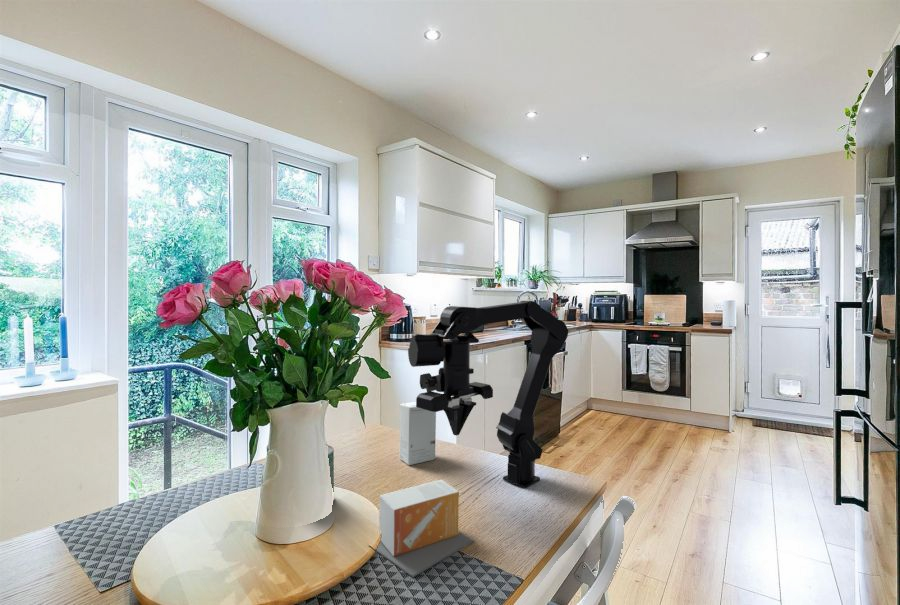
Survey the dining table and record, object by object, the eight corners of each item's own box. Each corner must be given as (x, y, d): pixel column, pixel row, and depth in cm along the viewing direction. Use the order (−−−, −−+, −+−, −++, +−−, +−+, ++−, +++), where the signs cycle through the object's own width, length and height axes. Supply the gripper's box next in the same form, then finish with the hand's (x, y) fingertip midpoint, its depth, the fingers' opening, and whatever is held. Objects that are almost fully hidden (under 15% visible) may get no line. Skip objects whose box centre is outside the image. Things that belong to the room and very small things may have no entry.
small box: (459, 535, 79) (393, 558, 72) (441, 519, 84) (378, 539, 77) (459, 490, 78) (393, 510, 71) (441, 477, 84) (378, 494, 77)
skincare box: (408, 466, 111) (408, 408, 110) (398, 458, 116) (398, 403, 115) (436, 459, 115) (437, 403, 115) (425, 452, 120) (425, 399, 120)
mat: (427, 516, 86) (427, 515, 86) (473, 541, 77) (473, 539, 77) (368, 545, 76) (368, 543, 76) (412, 577, 67) (412, 575, 67)
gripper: (459, 355, 107) (459, 418, 108) (399, 364, 94) (399, 435, 94) (494, 360, 99) (494, 428, 100) (434, 370, 86) (434, 449, 86)
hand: (456, 434), depth 95 cm, fingers closed
